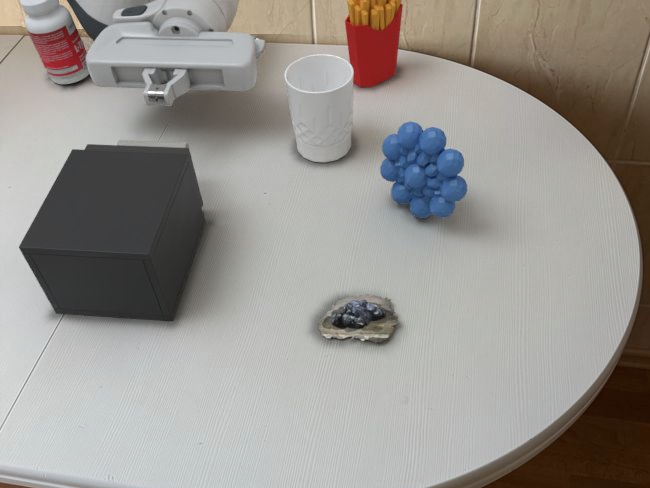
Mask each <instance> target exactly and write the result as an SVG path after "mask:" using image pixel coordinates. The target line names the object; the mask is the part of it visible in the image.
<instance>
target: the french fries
mask: <svg viewBox="0 0 650 488" xmlns="http://www.w3.org/2000/svg"><path fill="white" fill-rule="evenodd" d="M346 2H347V9H348V15H347V16H346V18H345V20H344V25H345V32H346V41H347V49H348V51H347V52H348V58H349V63H350V64H351V65H352V67H353V70H354V80H353V84H355V85H357V86H358V87H359V88H372V87H374V86H377V85H379V84H381V83H383V82H385V81H387V80H389V79H391V78H393V77H394V76H395V74H396V71H397V64H398V55H399V44H400V35H401V25H402V16H403V7H404V5H403V3H402V0H347V1H346Z"/></svg>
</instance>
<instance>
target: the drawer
mask: <svg viewBox="0 0 650 488" xmlns="http://www.w3.org/2000/svg"><path fill="white" fill-rule="evenodd" d="M84 150H105V151H130V152H156V153H182V154H188V156H189V160H190V164H191V168H192V172H193V176H194V179H195V183H196V187H197V191H198V195H199V199H200V203H201V206H202V207H203V206H204V201H203V197H202V193H201V188H200V186H199V182H198V178H197V174H196V170H195V166H194V162H193V157H192V154H191V149H190V144H189V143H188V142H183V141H182V142H181V141H155V140H154V141H153V140H131V139H130V140H129V139H128V140H127V139H119V140H118V141H117V143H116V144H96V143H95V144H93V143H92V144H91V143H87V144H86V146H85V147H84Z"/></svg>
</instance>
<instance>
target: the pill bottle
mask: <svg viewBox="0 0 650 488" xmlns="http://www.w3.org/2000/svg"><path fill="white" fill-rule="evenodd" d="M19 3H20V5H21V8H22V10H23V12H24V13H25V14H26V17H25V19H24V26H25V29H26V31H27V33H28V36H29V37H30V40H31V41H32V43H33V46H34V47H35V50H36V51H37V54H38V56H39V58H40V61H41V62H42V64H43V67H44V69H45V71H46V73H47V75H48V78H49V79H50V80H51V81H52V82H53V83H55V84H58V85H69V84H74V83H77V82H79V81H82V80H84V79H85V78H87V77H88V76H89V75H90V74H89V71H88V68H87V64H86V54H87V52H88V51H87V50H86V47H85V45H84V42H83V40H82V38H81V35H80V32H79V30H78V27H77V26H76V23H75V21H74V19H73V16H72V13H71V12H70V10H69V9H68V8H67V7H66V6H65V5H63V4H60V0H19Z"/></svg>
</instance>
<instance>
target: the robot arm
mask: <svg viewBox="0 0 650 488" xmlns="http://www.w3.org/2000/svg"><path fill="white" fill-rule="evenodd" d="M66 2H67V4H68V5H69V6H70V9H72V11H73V14H74V15H75V17H76V19H77V21H78V22H79V24H80V26H81V27H82V29H83V30H84V32H85V33H86V35H87V36H88V37H89V38H90V39H91V40H92V41H93V43H92V44H91V45H90V47H89V48H88V51H86V52H87V54H86V64H87V68H88V71H89V74H88V75H90V78H91V80H92V82H93V83H94V85H95V86H96V87H99V88H126V89H144V90H143V98H144V102H145V105H147V106H167V107H172V106H173V103H174V101H175V100H176V99H178V98H180V97H181V96H182V95H185V94H186V93H188V92H189V91H190V90H192V91H193V90H195V91H225V92H226V91H227V92H247V91H249V90H251V89H253V88H254V87H255V86H256V82H257V79H258V71H259V70H258V69H259V64H258V59H260V58H262V57H264V54H265V51H266V47H267V43H266V40H265V39H262V38H259V37H257V35H255V34H249V33H247V32H241V31H229V29H230V28H231V26H232V25H233V23H234V20H235V17H236V15H237V11H238V8H239V3H240V0H66Z"/></svg>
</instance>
